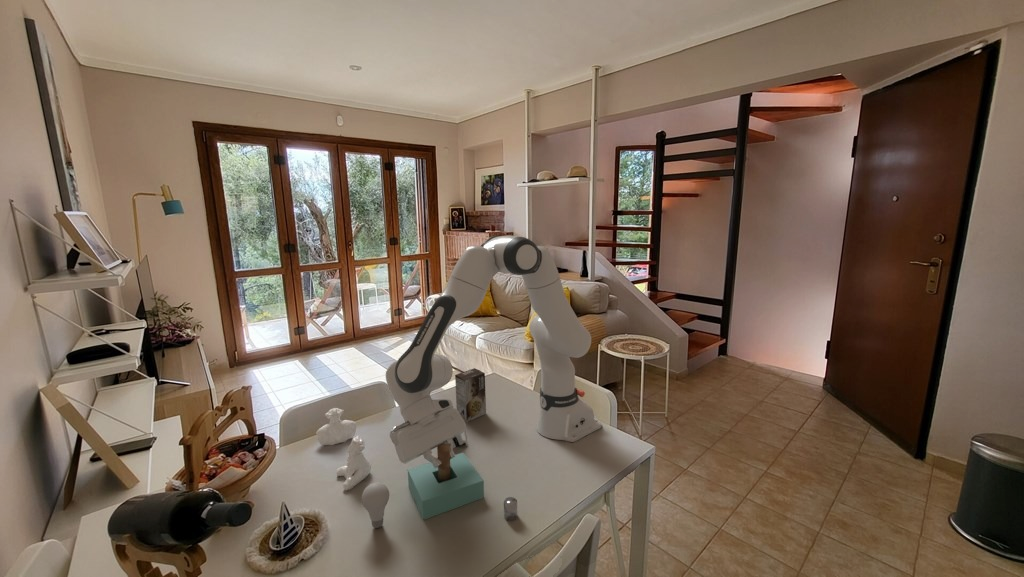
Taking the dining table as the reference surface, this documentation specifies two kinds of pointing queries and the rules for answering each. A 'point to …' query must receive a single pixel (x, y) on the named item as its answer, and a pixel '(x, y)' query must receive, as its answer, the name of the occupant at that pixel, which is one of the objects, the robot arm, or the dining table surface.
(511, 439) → the dining table surface
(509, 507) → the short metal pin
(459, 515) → the dining table surface
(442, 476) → the tall walnut pin
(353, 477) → the white creature statuette
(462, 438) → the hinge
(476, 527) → the dining table surface
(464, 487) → the hole block
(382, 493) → the lightbulb
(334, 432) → the bust
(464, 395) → the coffee box
